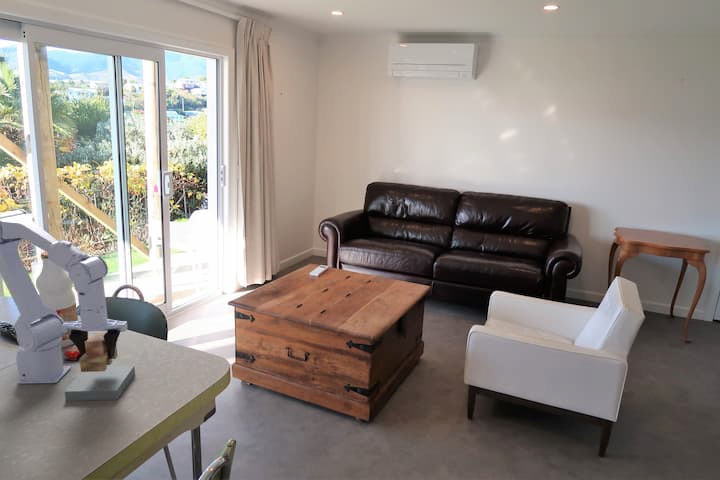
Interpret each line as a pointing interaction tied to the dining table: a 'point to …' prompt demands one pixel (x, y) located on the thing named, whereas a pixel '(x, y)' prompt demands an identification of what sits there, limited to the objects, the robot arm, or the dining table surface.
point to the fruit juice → (57, 293)
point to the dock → (100, 384)
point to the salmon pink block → (96, 345)
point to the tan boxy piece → (96, 362)
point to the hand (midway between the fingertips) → (98, 357)
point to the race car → (73, 353)
